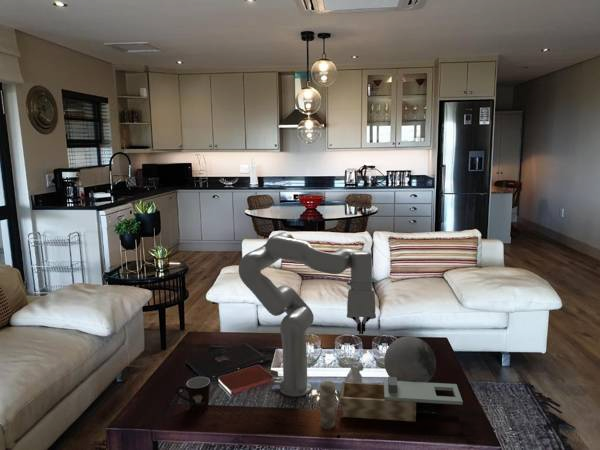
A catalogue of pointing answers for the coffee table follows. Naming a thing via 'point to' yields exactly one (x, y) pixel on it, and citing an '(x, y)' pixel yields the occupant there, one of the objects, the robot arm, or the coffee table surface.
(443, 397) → the lid
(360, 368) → the duck figurine
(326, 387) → the beige tall cylinder
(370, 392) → the wooden box
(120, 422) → the coffee table surface
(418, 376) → the moon model
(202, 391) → the coffee mug
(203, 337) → the coffee table surface
